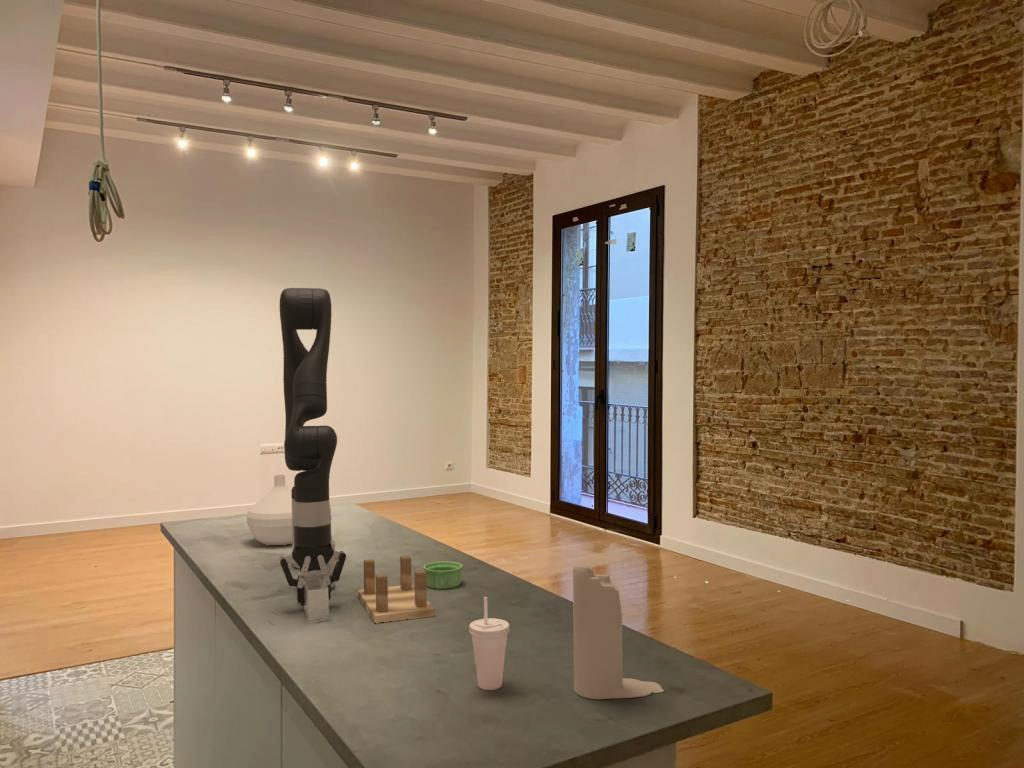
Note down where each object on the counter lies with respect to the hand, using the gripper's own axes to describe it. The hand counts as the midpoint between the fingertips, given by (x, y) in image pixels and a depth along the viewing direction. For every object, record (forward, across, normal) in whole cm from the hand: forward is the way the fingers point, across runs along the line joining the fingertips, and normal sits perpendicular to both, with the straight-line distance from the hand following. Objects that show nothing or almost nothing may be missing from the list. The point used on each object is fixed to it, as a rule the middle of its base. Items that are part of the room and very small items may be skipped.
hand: (313, 603), depth 166 cm
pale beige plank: (+1, 0, 0) cm, 1 cm away
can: (+1, -3, -15) cm, 15 cm away
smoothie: (+1, -21, +51) cm, 55 cm away
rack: (+1, -16, +5) cm, 17 cm away
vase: (+1, +1, -67) cm, 67 cm away
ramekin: (+2, -30, -7) cm, 31 cm away
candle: (+1, -39, +60) cm, 72 cm away
